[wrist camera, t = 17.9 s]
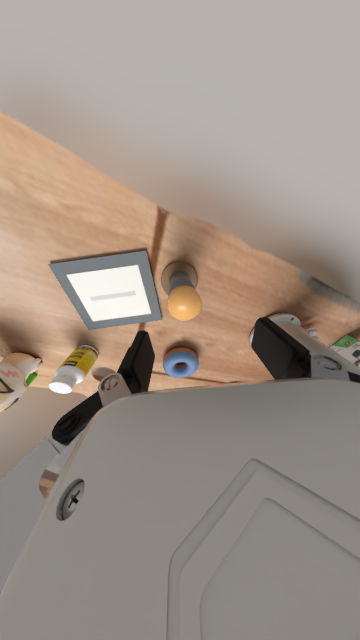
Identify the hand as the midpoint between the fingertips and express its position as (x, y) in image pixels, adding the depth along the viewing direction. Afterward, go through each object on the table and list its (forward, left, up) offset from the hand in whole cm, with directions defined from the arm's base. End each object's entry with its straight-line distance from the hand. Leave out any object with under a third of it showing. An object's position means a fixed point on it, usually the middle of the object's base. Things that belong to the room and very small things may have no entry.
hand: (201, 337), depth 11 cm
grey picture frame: (+14, 0, -17) cm, 22 cm away
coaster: (+1, -1, -17) cm, 17 cm away
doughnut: (+3, +21, -17) cm, 28 cm away
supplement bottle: (+27, +14, -17) cm, 35 cm away
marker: (+1, -1, -16) cm, 16 cm away
